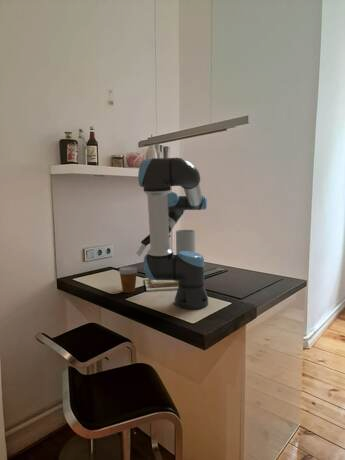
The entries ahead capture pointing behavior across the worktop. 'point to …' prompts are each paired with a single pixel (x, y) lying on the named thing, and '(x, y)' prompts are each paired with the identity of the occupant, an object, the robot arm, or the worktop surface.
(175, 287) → the docking board
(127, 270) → the disposable coffee cup
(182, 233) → the cylinder vase
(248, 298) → the worktop surface
